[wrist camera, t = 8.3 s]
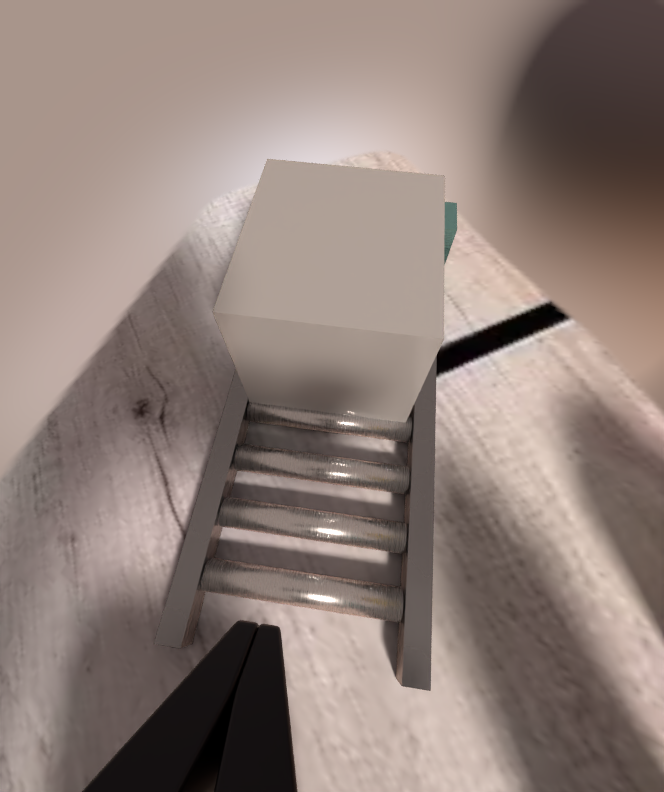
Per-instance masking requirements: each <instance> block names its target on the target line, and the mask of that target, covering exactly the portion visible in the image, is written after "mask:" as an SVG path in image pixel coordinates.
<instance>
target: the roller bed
mask: <svg viewBox="0 0 664 792" xmlns="http://www.w3.org/2000/svg"><path fill="white" fill-rule="evenodd" d="M456 231H457V203H451V202H445V231H444V265H445V262H446V259H447V256H448V254H449V251H450V248H451V245H452V242H453V240H454V237H455V234H456ZM436 357H437V355H436ZM436 357H435V359H434V362H433V364H432V366H431V368H430V370H429V372H428V375H427V377H426V379H425V381H424V383H423V386H422V388H421V390H420V392H419V394H418V397H417V399H416V401H415V403H414V405H413V407H412V410H411V412H410V415H409V417H408V418H407V421H406V423H405V422H398V421H390V420H382V419H375V418H367V417H359V416H352V415H344V414H337V413H329V412H321V411H314V410H306V409H298V408H291V407H283V406H275V405H268V404H260V403H253V402H249V399H248V397H247V394H246V392H245V389H244V387H243V385H242V382H241V380H240V377H239V375H238V373H237V370H235V373H234V377H233V380H232V384H231V387H230V390H229V394H228V397H227V400H226V404H225V407H224V410H223V414H222V417H221V420H220V424H219V427H218V430H217V434H216V437H215V441H214V444H213V447H212V451H211V454H210V457H209V461H208V464H207V467H206V471H205V474H204V477H203V481H202V484H201V487H200V491H199V494H198V497H197V501H196V504H195V508H194V511H193V514H192V518H191V521H190V524H189V528H188V531H187V534H186V538H185V541H184V544H183V548H182V551H181V554H180V558H179V561H178V564H177V568H176V571H175V575H174V578H173V581H172V585H171V588H170V591H169V595H168V598H167V601H166V605H165V608H164V611H163V615H162V618H161V621H160V625H159V628H158V631H157V635H156V638H155V642H154V644H158V645H164V646H169V647H175V648H183V647H185V646H188V645H191V644H192V643H193V639H194V635H195V631H196V627H197V623H198V619H199V616H200V612H201V608H202V604H203V600H204V596H205V593H206V592H212V593H218V594H224V595H230V596H237V597H243V598H249V599H255V600H261V601H268V602H274V603H280V604H286V605H293V606H299V607H305V608H311V609H317V610H324V611H330V612H336V613H342V614H349V615H355V616H361V617H367V618H373V619H380V620H386V621H392V622H398V623H399V626H398V645H397V665H396V679H397V680H398V682H399V683H400V684H401V686H405V687H411V688H417V689H423V690H429V691H431V635H432V580H433V524H434V468H435V413H436ZM250 421H251V422H259V423H266V424H273V425H281V426H288V427H296V428H303V429H311V430H318V431H325V432H333V433H340V434H348V435H355V436H363V437H370V438H377V439H385V440H392V441H400V442H407V443H408V453H407V466H401V465H394V464H386V463H379V462H372V461H365V460H357V459H350V458H343V457H336V456H328V455H321V454H314V453H307V452H299V451H292V450H285V449H278V448H270V447H263V446H256V445H249V444H244V442H245V438H246V435H247V431H248V427H249V423H250ZM237 471H244V472H251V473H258V474H265V475H272V476H279V477H286V478H293V479H300V480H307V481H315V482H322V483H329V484H336V485H343V486H350V487H357V488H364V489H371V490H378V491H385V492H392V493H399V494H405V511H404V523H403V522H397V521H390V520H383V519H376V518H369V517H362V516H355V515H349V514H342V513H335V512H328V511H321V510H314V509H308V508H301V507H294V506H287V505H280V504H273V503H267V502H260V501H253V500H246V499H239V498H232V497H230V496H231V492H232V489H233V485H234V481H235V477H236V473H237ZM222 527H228V528H235V529H241V530H248V531H254V532H261V533H268V534H274V535H281V536H288V537H294V538H301V539H308V540H314V541H321V542H327V543H334V544H341V545H347V546H354V547H361V548H367V549H374V550H381V551H387V552H394V553H400V554H402V569H401V587H398V586H392V585H385V584H379V583H373V582H366V581H360V580H353V579H347V578H340V577H334V576H328V575H321V574H315V573H308V572H302V571H295V570H289V569H283V568H276V567H270V566H263V565H257V564H250V563H244V562H238V561H231V560H225V559H218V558H215V554H216V550H217V546H218V542H219V539H220V535H221V531H222Z"/></svg>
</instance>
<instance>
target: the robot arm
mask: <svg viewBox="0 0 664 792" xmlns="http://www.w3.org/2000/svg"><path fill="white" fill-rule="evenodd" d="M82 792H297V783H296V773H295V764H294V754H293V744H292V735H291V725H290V716H289V706H288V697H287V687H286V678H285V668H284V659H283V649H282V639H281V631H280V628H279V627H278V626H274V625H268V624H261V625H260V626H259V625H258V624H257V623H256V622H249V621H243V620H240V621H238V622H236V623H235V624H234V625H233V626H232V627H231V629H230V630H229V631H228V632H227V633H226V634H225V635H224V636H223V637H222V638H221V640H220V641H219V642H218V643H217V644H216V645H215V646H214V647H213V648H212V649H211V650H210V652H209V653H208V654H207V655H206V656H205V657H204V658H203V659H202V660H201V661H200V663H199V664H198V665H197V666H196V667H195V668H194V669H193V670H192V671H191V672H190V674H189V675H188V676H187V677H186V678H185V679H184V680H183V681H182V682H181V683H180V685H179V686H178V687H177V688H176V689H175V690H174V691H173V692H172V693H171V694H170V695H169V697H168V698H167V699H166V700H165V701H164V702H163V703H162V704H161V705H160V706H159V708H158V709H157V710H156V711H155V712H154V713H153V714H152V715H151V716H150V717H149V719H148V720H147V721H146V722H145V723H144V724H143V725H142V726H141V727H140V728H139V730H138V731H137V732H136V733H135V734H134V735H133V736H132V737H131V738H130V739H129V740H128V742H127V743H126V744H125V745H124V746H123V747H122V748H121V749H120V750H119V751H118V753H117V754H116V755H115V756H114V757H113V758H112V759H111V760H110V761H109V762H108V764H107V765H106V766H105V767H104V768H103V769H102V770H101V771H100V772H99V773H98V775H97V776H96V777H95V778H94V779H93V780H92V781H91V782H90V783H89V784H88V786H87V787H86V788H85V789H84V790H83V791H82Z"/></svg>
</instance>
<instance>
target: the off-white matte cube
mask: <svg viewBox="0 0 664 792" xmlns="http://www.w3.org/2000/svg"><path fill="white" fill-rule="evenodd" d="M444 231H445V176H444V175H433V174H422V173H412V172H401V171H391V170H380V169H370V168H359V167H348V166H338V165H327V164H317V163H306V162H295V161H285V160H273V159H267V161H266V164H265V167H264V170H263V172H262V175H261V178H260V181H259V183H258V186H257V189H256V192H255V195H254V197H253V200H252V203H251V206H250V209H249V211H248V214H247V217H246V220H245V222H244V225H243V228H242V231H241V234H240V236H239V239H238V242H237V245H236V248H235V250H234V253H233V256H232V259H231V261H230V264H229V267H228V270H227V273H226V275H225V278H224V281H223V284H222V287H221V289H220V292H219V295H218V298H217V300H216V303H215V306H214V309H213V314H214V317H215V319H216V322H217V324H218V326H219V329H220V331H221V334H222V336H223V339H224V341H225V343H226V346H227V348H228V351H229V353H230V356H231V358H232V360H233V363H234V365H235V368H236V370H237V373H238V375H239V377H240V380H241V382H242V385H243V387H244V389H245V392H246V394H247V397H248V399H249V402H253V403H260V404H268V405H275V406H283V407H291V408H298V409H306V410H314V411H321V412H329V413H337V414H344V415H352V416H359V417H367V418H375V419H382V420H390V421H398V422H405V423H406V421H407V418H408V416H409V414H410V412H411V410H412V407H413V405H414V403H415V401H416V399H417V397H418V394H419V392H420V390H421V388H422V386H423V383H424V381H425V379H426V377H427V375H428V372H429V370H430V368H431V366H432V364H433V362H434V359H435V357H436V355H437V353H438V351H439V348H440V346H441V344H442V342H443V340H444Z"/></svg>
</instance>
